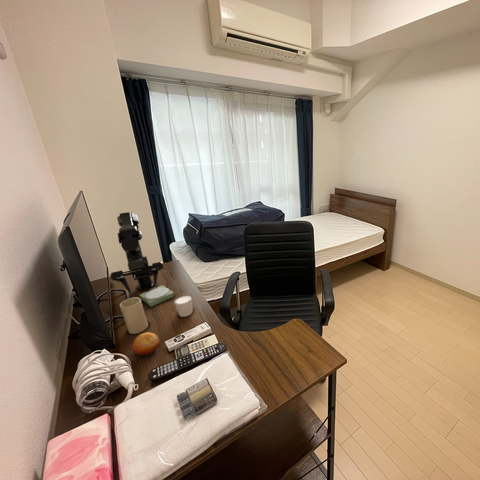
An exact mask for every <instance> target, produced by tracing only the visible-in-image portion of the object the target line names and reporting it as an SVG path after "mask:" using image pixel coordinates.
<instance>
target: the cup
mask: <svg viewBox="0 0 480 480" xmlns="http://www.w3.org/2000/svg"><path fill="white" fill-rule="evenodd" d="M119 309H120V312H121V314H122V317H123V321H124V323H125V326H126V329H127V332H128V333H129V334H131V335H135V334H141V333H142V332H144V331H145V330H146V329H147V328H148V327H149V323H148V319H147V316H146V312H145V309H144V305H143V303H142V299H141V298H140V297H137V296H135V297H129V298H127V299H124V300H122V301H121V302H120V303H119Z"/></svg>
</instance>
